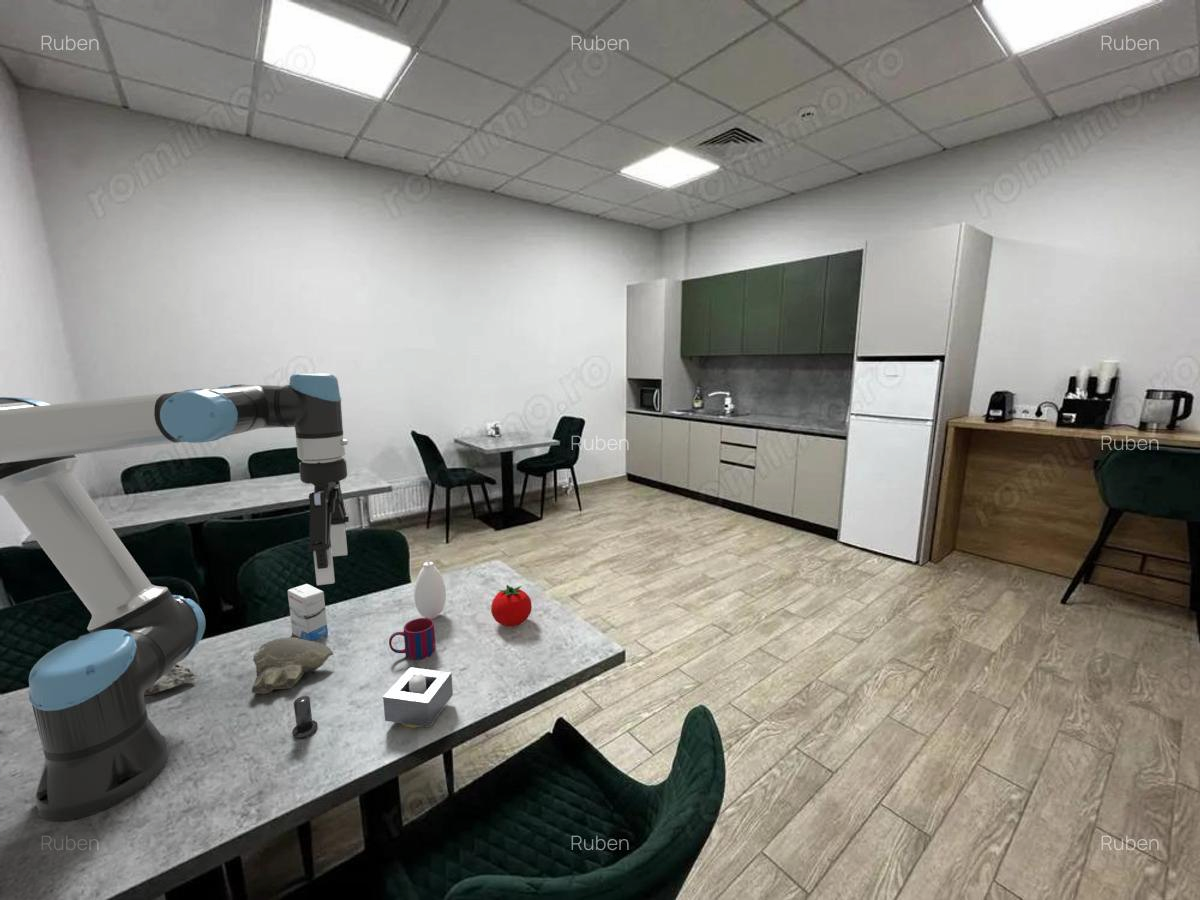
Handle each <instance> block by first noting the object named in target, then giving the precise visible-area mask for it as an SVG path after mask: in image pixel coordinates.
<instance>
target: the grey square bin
mask: <svg viewBox="0 0 1200 900" xmlns="http://www.w3.org/2000/svg"><path fill="white" fill-rule="evenodd" d="M419 674H421V675H424V676H425V677H426V692H425V693H424V694H417V693H410V690H409V679H410V678H411V677H413V676H415V675H419ZM453 695H454V693H453V673H452V672H451V671H442V670H434V669H428V668H426V669H425V668H418V667H409V668H408V669H407V670H406V671H405V672H404V673H403V675H402V676H400V678H399V679H398V680H397V681H396V682H395V683H394V684H393V685H392V687H391V688H390V689H389V690H388V691H387V692H386V693H385V694H384V695H383V696H382V699H383V711H384V721H385V722H390V723H391V722H392V723H398V724H402V723H404V724H410V725H417V726H420V727H425V728H430V727H431V726H432V725H433V723H434V722H435V720H436V719H437V717H439V715H440V714H441V712H442V711H443V709H444V708H445V707H446V706H447V704H448V702H449V701H450V699H451V698H452V697H453Z"/></svg>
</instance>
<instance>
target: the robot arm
mask: <svg viewBox="0 0 1200 900" xmlns="http://www.w3.org/2000/svg"><path fill="white" fill-rule="evenodd" d="M342 414H343V413H342V397H341V393H340V387H339V381H338V378H337V377H336V376H335V375H334V374H332V373H294V374H291V375H290V377H289V382H288V384H282V385H268V384H267V385H266V384H265V385H264V384H263V385H262V384H256V385H255V384H231V385H221V386H218V387H217V388H198V389H197V388H195V389H187V390H183V391H174V392H165V393H153V394H145V395H135V396H134V395H132V396H126V397H125V396H124V397H113V398H105V399H96V400H95V399H93V400H84V401H83V400H82V401H76V402H75V401H74V402H65V403H55V404H51V403H49V402H47V401H42V400H39V399H35V398H31V397H30V398H29V397H5V396H3V397H1V396H0V496H2V497H3V498H4V499H5V500H6V503H8V505H9V506H10V507H11V509H12V510H13V512H14V513H15V514H16V515H17V517H18V519H20V521H21V522H22V523H23V525H24V526H25V527H26V529H27V530H28V532H30V534H31V536H33V538H34V539H35V540H36V542H37V543H38V545H40V548H41V549H42V550H43V552H45V554H46V555H47V556H48V558H49V559H50V561H52V563H53V565H54V566H55V567H56V569H57V570H58V571H59V573H60V574H61V575H62V576H63V578H64V579H65V581H66V582H67V583H68V584H69V586H70V587H71V588H72V590H73V591H74V593H75V594H76V595H77V596H78V598H79V599H80V601H82V603H83V605H84V606H85V607H86V608H87V610H88V611H89V612H90V614H91V619H90V620H89V623H88V626H87V628H86V629H87V631H88V632H89V633H86V634H84V635H80V636H79V637H77V638H76V639H73V640H68V641H66V642H64V643H62V644H59V646H56V647H55V648H53V649H52V650H50V651H48V652H47V653H46V654H45V655H43V656H42V657H41V658H40V659H39V660H38V661H37V662H36V663H35V664H34V666H33V667H32V668H31V670H30V672H29V676H28V684H29V685H28V686H29V691H28V698H29V702H30V703H31V706H32V710H33V714H34V718H35V722H36V725H37V730H38V734H39V738H40V742H41V747H42V751H43V754H44V755H43V756H44V763H43V766H42V771H41V774H40V778H39V783H38V784H37V785H38V786H37V789H36V793H35V804H36V809H37V812H38V814H39V816H40V817H41V818H43V819H44V820H47V821H52V822H61V821H60V820H65V821H70V820H69V819H72V820H75V819H74V818H77V819H80V817H81V818H84V817H87V816H91V815H93V814H96V813H99V812H101V811H103V810H106V809H108V808H110V806H111V807H113V806H115V805H117V804H119V803H120V802H123V801H124V800H126V799H127V798H129V797H131V796H133V795H134V794H136V793H137V792H138V790H139V791H140V790H142V789H143V788H144V787H145V786H147V785H148V784H149V783H151V780H152V779H153V778H154V779H155V778H156V777H157V776H158V775H159V774H160V773H161V772H162V771H163V769H164V767H165V766H166V765H167V763H168V760H169V756H170V753H169V747H168V743H167V740H166V738H165V737H164V736H163V735H162V734H161V732H160V730H159V729H158V728H157V727H156V726H155V724H154V723H153V722H152V720H151V719H149V716H148V712H147V711H148V710H147V706H146V701H145V695H144V692H145V691H146V690H147V689H148V688H149V687H150V686H151V685H153V684H154V683H155V682H156V681H157V680H159V679H160V678H161V677H162V676H163V675H164V674H165V673H167V672H168V671H169V670H170V669H171V668H172V667H173V666H175V665H176V664H177V665H178V663H180V662H182V661H183V660H184V659H186V657H187V656H188V655H190V653H192V651H193V649H195V647H196V646H198V644H199V643H200V641H201V640H202V638H203V636H204V634H205V631H206V617H205V614H204V612H203V610H202V608H201V607H200V605H199V604H198V603H196V601H194V600H193V599H191V598H185V597H184V596H183V595H178V594H177V595H176V594H172V593H171V591H170V589H169V588H168V587H167V586H160V585H159V586H158V585H155V584H152V583H151V581H150V580H149V578H148V577H147V576H146V574H145V573H144V571H143V570H142V569H141V567H140V566H139V564H138V563H137V562H136V560H135V559H134V557H133V556H132V555H131V553H130V552H129V550H128V549H127V548H126V546H125V545H124V543H123V542H122V541H121V538H120V537H119V536H118V535H117V533H116V531H114V529H113V527H112V526H111V525H110V523H109V522H108V521H107V519H106V518H105V516H104V514H102V512H101V510H99V508H98V506H97V505H96V504H95V502H94V501H93V500H92V498H91V497H90V495H89V494H88V492H87V491H86V489H85V488H84V487H83V485H82V484H81V483H80V481H79V479H78V478H77V477H76V475H75V474H74V473H73V472H74V468H75V467H76V465H77V462H78V458H77V456H76V455H83V454H85V455H86V454H91V453H101V452H111V451H118V450H127V449H134V448H135V449H136V448H143V447H152V446H153V447H154V446H161V445H169V444H177V443H178V444H179V443H189V444H190V443H191V444H192V443H193V444H196V443H197V444H198V443H199V444H200V443H202V444H203V443H209V442H215V441H218V440H220V439H222V438H225V437H228V436H229V437H230V436H233V435H237V434H241V433H247V432H250V431H254V430H258V429H269V428H270V429H273V428H294V431H295V439H296V442H295V443H296V452H297V458H298V459H299V460H300V462H299V463H298V467H299V468H298V469H299V477H300V481H301V482H302V483H304V484H308V485H309V484H311V485H314V487H313V488H314V489H313V492H310V493H309V495H308V500H309V540H308V541H309V542H308V543H309V544H308V545H309V546H307V547H306V550H307V552H308V553H310V552H313V553H312V554H313V563H314V571H315V579H316V580H315V582H316V586H322V585H331V584H335V582H336V581H335V569H334V560H333V557H340V556H341V557H342V556H348V545H347V543H348V542H347V533H346V531H347V530H346V523H349V521H350V519H349V516H346V515H347V512H346V507H345V503H344V499H343V494H342V488H341V482H340V481H343V480H345V479H346V478H348V469H347V459H345V458H344V456H345V455H346V452H345V451H346V449H345V446H347V445H348V442H349V441H348V439H344V427H343V415H342ZM156 775H157V776H156ZM154 779H153V780H154ZM153 780H152V781H153ZM148 782H149V783H148ZM147 783H148V784H147ZM146 784H147V785H146ZM142 787H143V788H142ZM135 792H136V793H135Z"/></svg>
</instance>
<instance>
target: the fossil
mask: <svg viewBox="0 0 1200 900" xmlns="http://www.w3.org/2000/svg"><path fill="white" fill-rule="evenodd" d="M333 655H334V652H333V651H332V649H331V648H330V647H329V646H328V645H326V644H324V643H320V642H318V641H317V642H316V641H308V640H303V639H302V638H300V637H298V638H297V637H280V638H274V639H273V640H269V641H267V642H266V643H264V644H261V646H260V647H259V649H258V651H257V652H256V653H255V654H254V655H253V659H252V661H253V663H254V664H255V668H256V670H255V673H256V678H255V680H254V683H253V685H252V687H251V691H250V692H251V694H264V695H265V694H270V693H271V692H273V691H274V690H283V689H290V688H292V687H294V686H295V685H296V684H298V683H299V681H300V680H301V678H302V677H303V675H305V673H304V672H311V671H315V670H317V669H319V668H321V667H322V666H323V665H324V663H326V661H328V659H329V657H330V656H333Z"/></svg>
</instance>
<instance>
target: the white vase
mask: <svg viewBox="0 0 1200 900" xmlns="http://www.w3.org/2000/svg"><path fill="white" fill-rule="evenodd" d="M426 560H427V561H426V562H424V563H423V565H422V568H421V569H420V571H419V573H418V576H417V579H416V582H415V586H414V594H413V595H414V597H413V598H414V603H415V608H416V610H417V612H418V613H419V615H420V616H421V617H422V618H429V619H432V620H433V619H435V618H437V617H438V616H439V615H440V614H441V613H442V611H443V609H444V608H445V605H446V599H447V591H446V585H445V581H444V578H443V576H442V575H441V572H440V571H439V569H438V568H437V567H436V565H434V562H433V561H430V556H429V554H428V553H427V555H426Z"/></svg>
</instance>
